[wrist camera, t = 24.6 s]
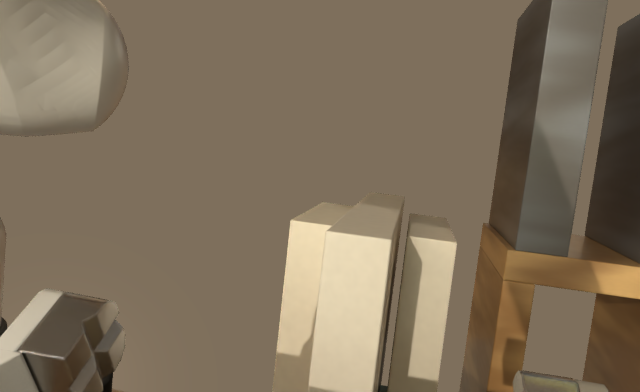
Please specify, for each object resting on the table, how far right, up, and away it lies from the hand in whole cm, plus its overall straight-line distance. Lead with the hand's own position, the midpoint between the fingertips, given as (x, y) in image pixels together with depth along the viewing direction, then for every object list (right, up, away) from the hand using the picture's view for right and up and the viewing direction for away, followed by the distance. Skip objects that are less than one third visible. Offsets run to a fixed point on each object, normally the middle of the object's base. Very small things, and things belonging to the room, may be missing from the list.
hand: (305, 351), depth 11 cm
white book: (+2, -10, +19) cm, 22 cm away
